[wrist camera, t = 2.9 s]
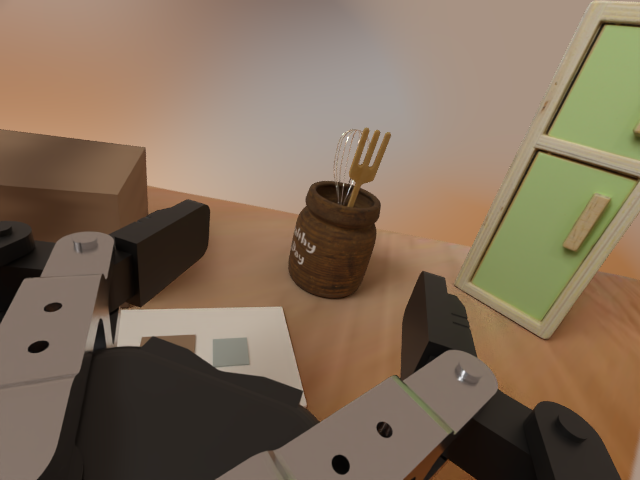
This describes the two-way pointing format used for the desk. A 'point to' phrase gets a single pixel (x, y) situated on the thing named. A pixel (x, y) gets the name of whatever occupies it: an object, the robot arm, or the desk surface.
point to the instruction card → (221, 338)
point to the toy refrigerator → (566, 179)
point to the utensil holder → (338, 228)
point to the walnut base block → (70, 184)
